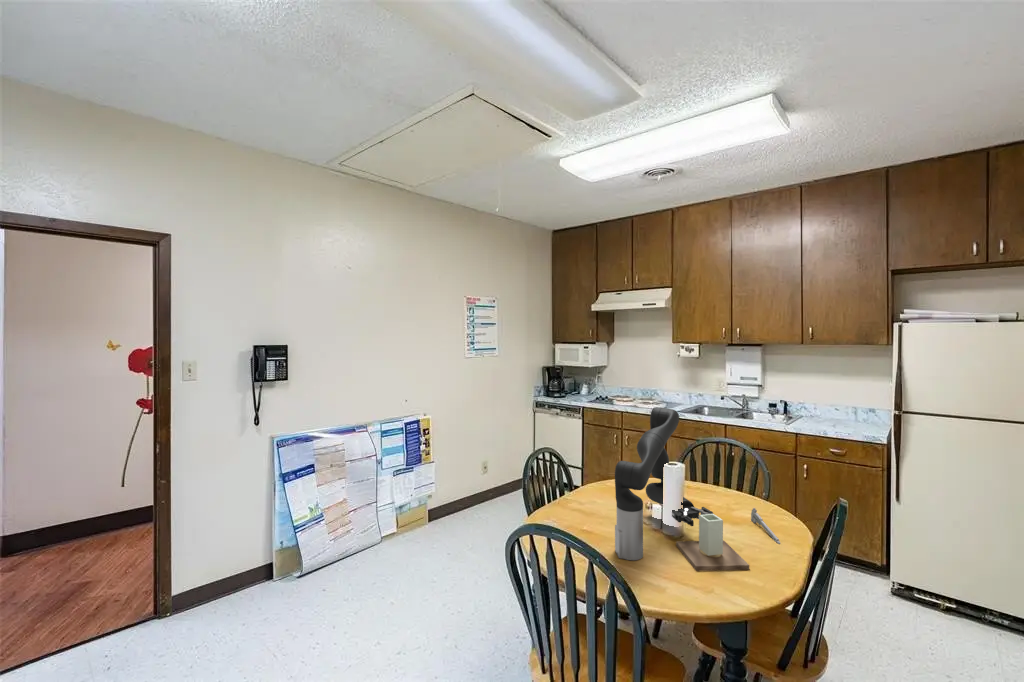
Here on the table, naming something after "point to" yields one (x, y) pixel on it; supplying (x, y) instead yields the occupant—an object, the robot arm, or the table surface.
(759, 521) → the caliper
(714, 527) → the sleeve
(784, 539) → the table surface
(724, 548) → the post stand
